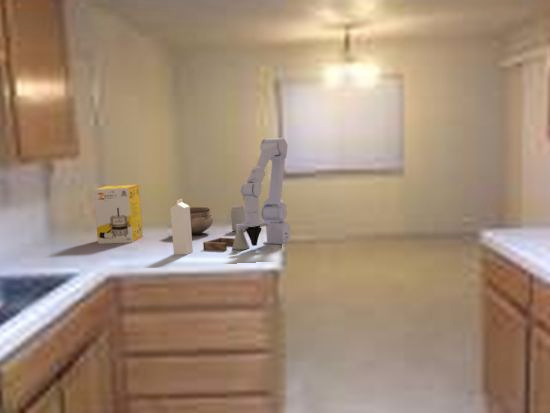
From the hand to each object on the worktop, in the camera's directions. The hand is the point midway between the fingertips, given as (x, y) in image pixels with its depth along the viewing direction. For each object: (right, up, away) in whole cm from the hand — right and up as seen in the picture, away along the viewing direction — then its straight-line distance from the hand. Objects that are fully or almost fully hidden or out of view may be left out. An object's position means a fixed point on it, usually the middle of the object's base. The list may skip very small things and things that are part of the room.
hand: (254, 245), depth 286 cm
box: (-13, -1, +8) cm, 15 cm away
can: (-8, +4, +53) cm, 54 cm away
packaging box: (-64, 0, +45) cm, 78 cm away
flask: (-6, -2, +4) cm, 7 cm away
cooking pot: (-30, +2, +50) cm, 58 cm away
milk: (-29, -3, 0) cm, 29 cm away
